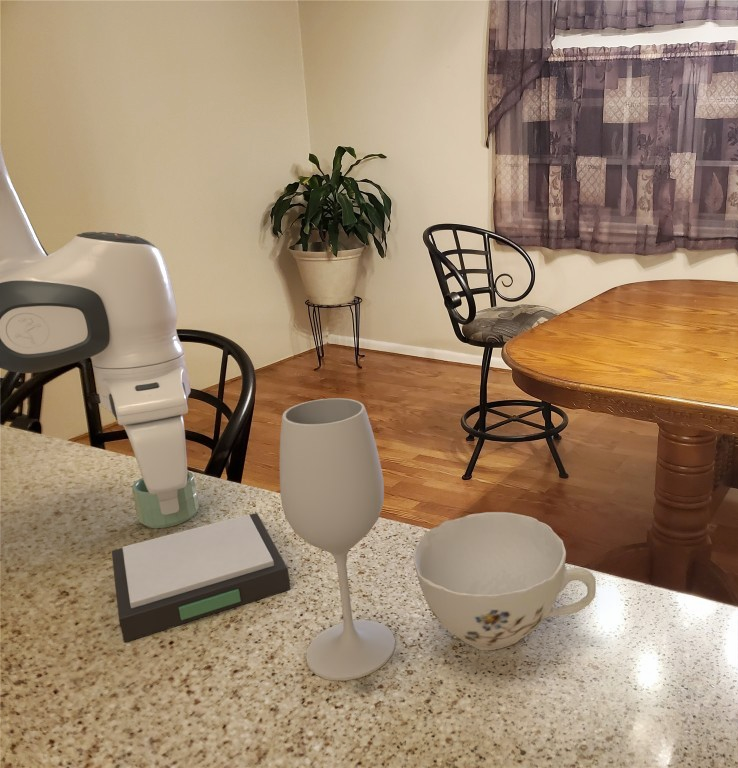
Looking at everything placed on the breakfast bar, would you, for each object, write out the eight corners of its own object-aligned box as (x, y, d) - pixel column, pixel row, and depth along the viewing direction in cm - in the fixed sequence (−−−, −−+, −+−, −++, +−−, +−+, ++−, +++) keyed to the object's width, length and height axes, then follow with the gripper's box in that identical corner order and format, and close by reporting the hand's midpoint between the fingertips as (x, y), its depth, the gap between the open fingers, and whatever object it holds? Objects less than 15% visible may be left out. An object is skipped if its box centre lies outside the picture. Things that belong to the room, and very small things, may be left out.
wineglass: (283, 668, 55) (246, 422, 48) (340, 613, 61) (314, 390, 55) (363, 692, 52) (335, 435, 46) (414, 632, 59) (395, 400, 52)
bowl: (141, 535, 75) (133, 498, 74) (137, 512, 81) (129, 478, 79) (203, 520, 79) (196, 484, 77) (195, 499, 84) (189, 465, 82)
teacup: (396, 669, 54) (388, 582, 52) (445, 580, 66) (440, 505, 64) (585, 696, 51) (586, 604, 49) (601, 597, 63) (603, 519, 60)
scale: (124, 645, 58) (117, 614, 57) (116, 571, 69) (110, 545, 68) (291, 591, 65) (287, 563, 64) (260, 532, 76) (256, 507, 75)
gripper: (107, 366, 82) (129, 472, 86) (116, 415, 65) (143, 544, 69) (165, 358, 85) (184, 461, 89) (188, 402, 68) (210, 526, 72)
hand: (166, 498), depth 79 cm, fingers closed on bowl, 6 cm apart
